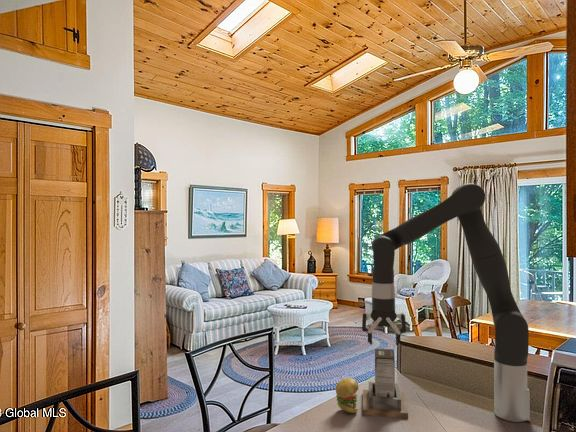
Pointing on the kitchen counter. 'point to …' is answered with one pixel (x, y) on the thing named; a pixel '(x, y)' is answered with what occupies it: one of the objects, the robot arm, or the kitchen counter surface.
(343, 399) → the hamburger
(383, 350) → the coffee box
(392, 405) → the socket stand
